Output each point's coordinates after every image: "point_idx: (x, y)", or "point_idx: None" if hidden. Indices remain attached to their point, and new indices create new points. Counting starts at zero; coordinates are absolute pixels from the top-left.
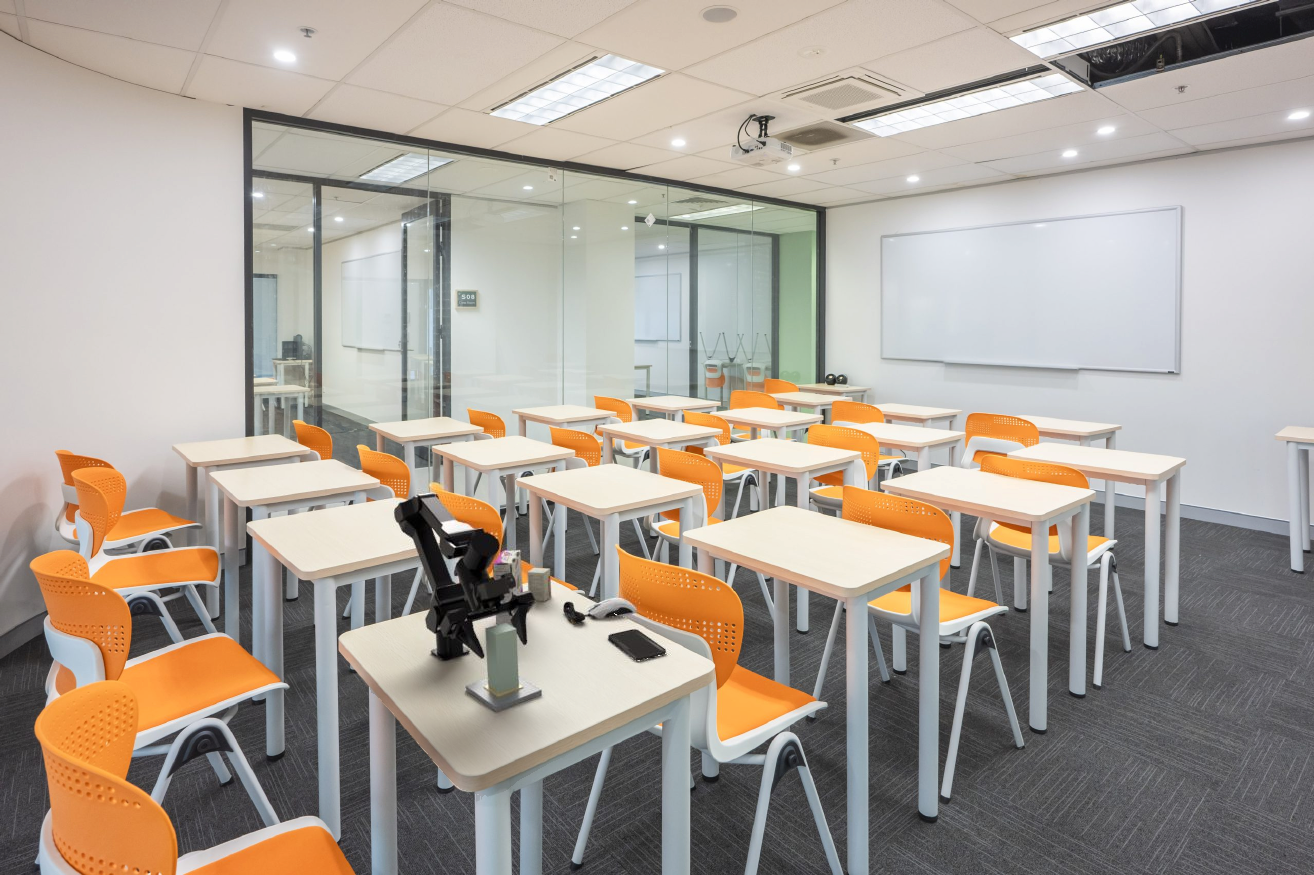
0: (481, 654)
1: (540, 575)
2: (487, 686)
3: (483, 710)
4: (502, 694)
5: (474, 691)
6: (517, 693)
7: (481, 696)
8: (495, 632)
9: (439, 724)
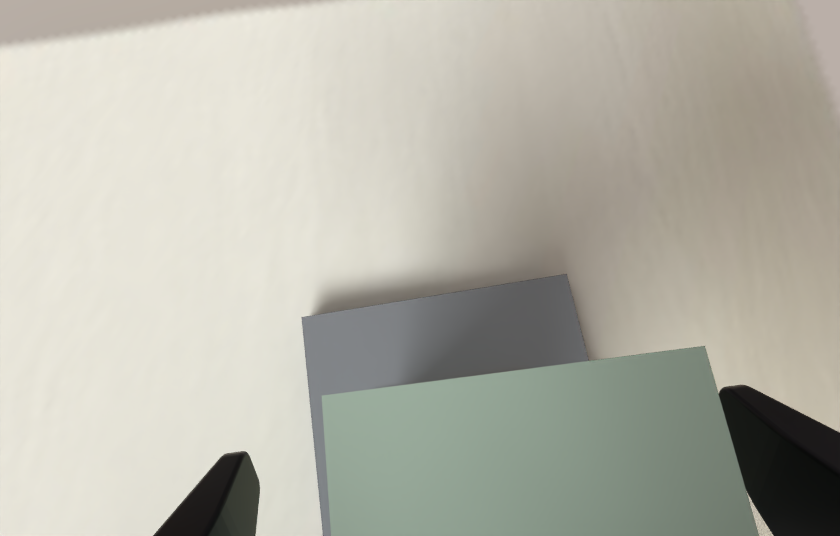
0: (766, 398)
1: None
2: None
3: (609, 335)
4: None
5: None
6: (424, 350)
7: None
8: (689, 452)
9: (827, 324)
